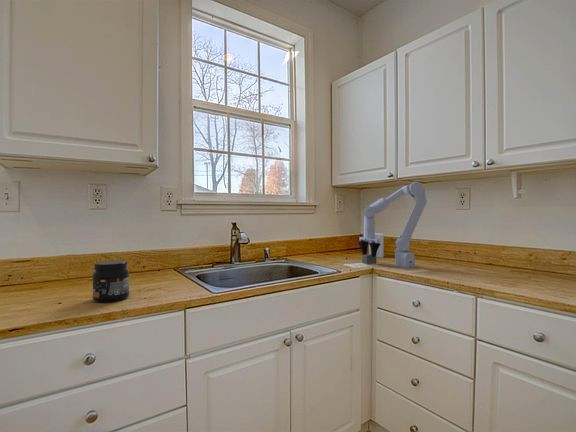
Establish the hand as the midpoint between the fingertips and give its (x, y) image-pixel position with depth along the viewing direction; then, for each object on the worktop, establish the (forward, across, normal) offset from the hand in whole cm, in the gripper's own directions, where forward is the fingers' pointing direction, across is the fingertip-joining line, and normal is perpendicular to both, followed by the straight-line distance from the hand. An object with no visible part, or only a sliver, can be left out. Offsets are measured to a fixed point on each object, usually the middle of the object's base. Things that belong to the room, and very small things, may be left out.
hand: (369, 255), depth 163 cm
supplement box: (+6, -30, +28) cm, 41 cm away
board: (+6, 0, -5) cm, 8 cm away
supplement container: (+6, +19, -116) cm, 118 cm away
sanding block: (+5, 0, 0) cm, 5 cm away
